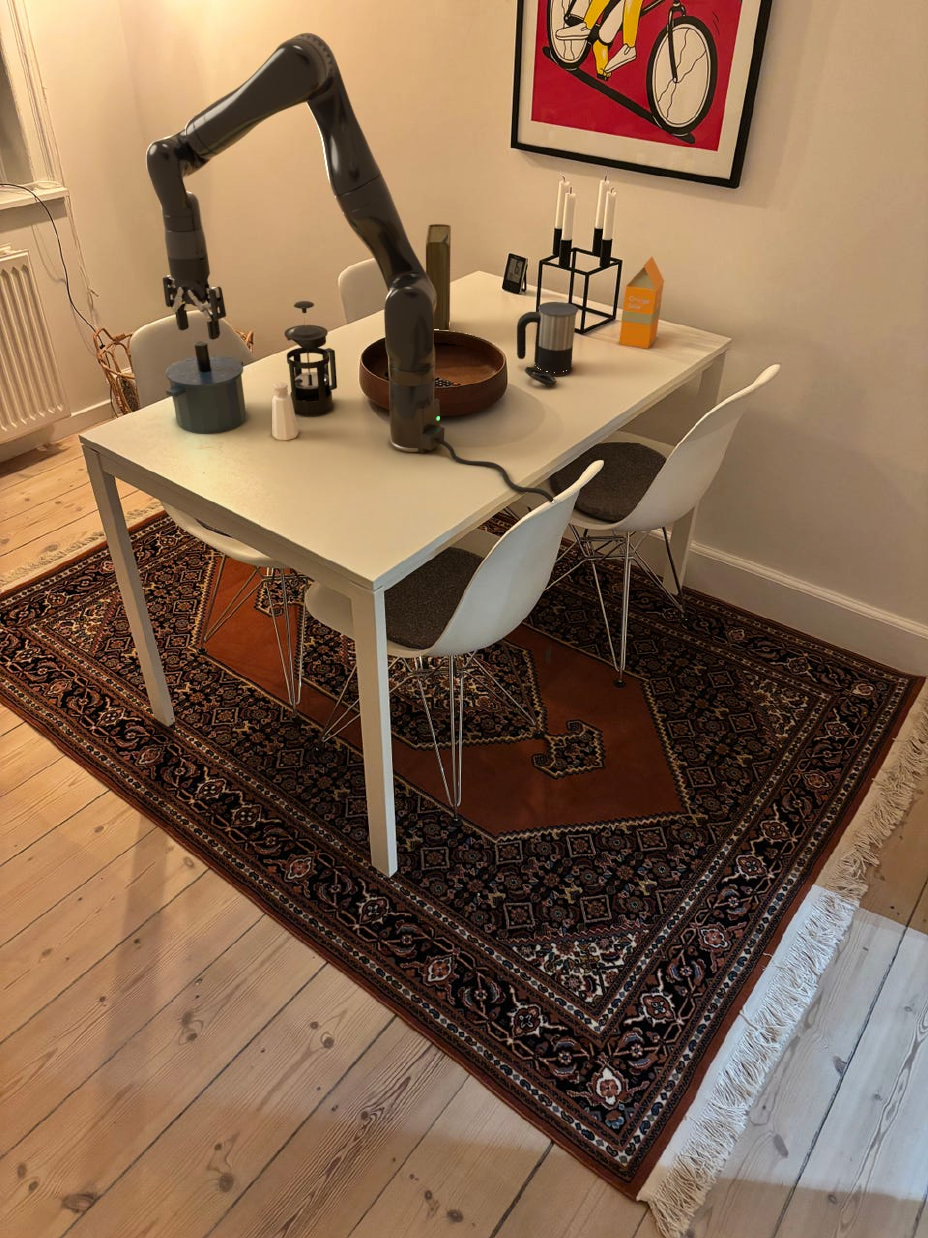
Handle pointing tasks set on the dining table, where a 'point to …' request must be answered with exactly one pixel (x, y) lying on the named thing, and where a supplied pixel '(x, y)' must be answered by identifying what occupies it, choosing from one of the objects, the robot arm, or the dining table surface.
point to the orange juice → (642, 307)
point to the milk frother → (549, 340)
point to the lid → (204, 369)
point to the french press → (310, 382)
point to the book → (439, 271)
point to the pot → (209, 406)
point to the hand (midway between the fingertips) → (199, 333)
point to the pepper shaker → (283, 414)
